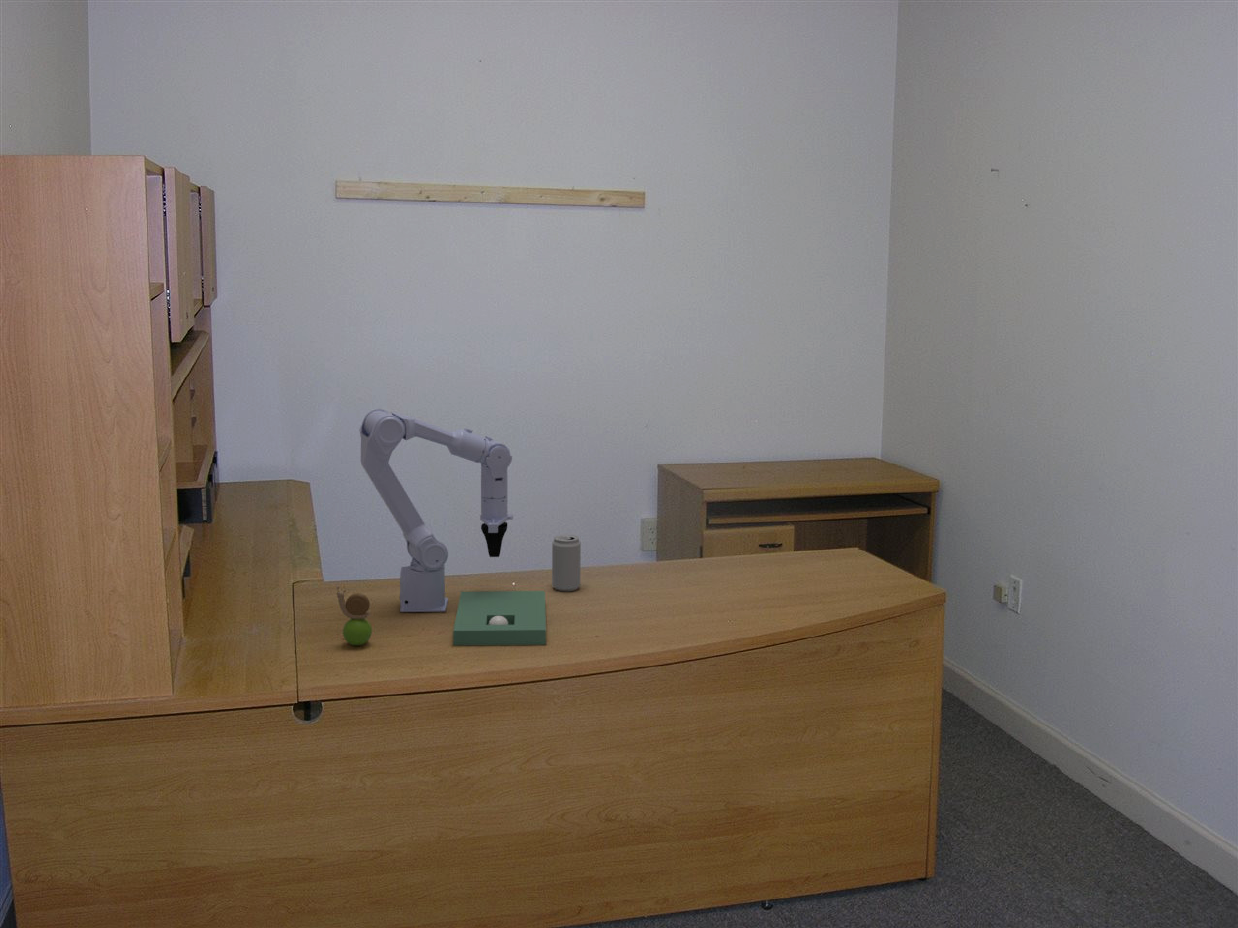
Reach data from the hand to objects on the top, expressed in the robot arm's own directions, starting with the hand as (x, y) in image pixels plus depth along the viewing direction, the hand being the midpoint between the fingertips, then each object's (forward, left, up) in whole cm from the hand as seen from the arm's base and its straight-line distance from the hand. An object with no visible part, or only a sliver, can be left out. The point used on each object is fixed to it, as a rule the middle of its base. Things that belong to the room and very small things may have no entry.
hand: (494, 556), depth 240 cm
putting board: (+2, -17, -9) cm, 20 cm away
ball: (+2, -24, -7) cm, 25 cm away
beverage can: (+16, +6, -10) cm, 20 cm away
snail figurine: (-26, -28, -10) cm, 39 cm away
